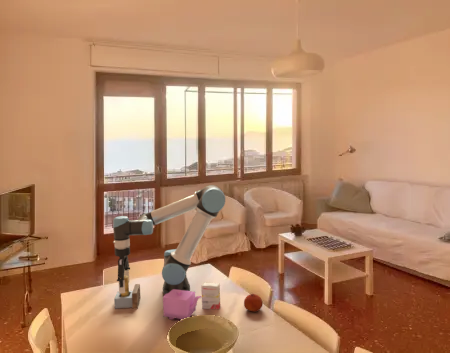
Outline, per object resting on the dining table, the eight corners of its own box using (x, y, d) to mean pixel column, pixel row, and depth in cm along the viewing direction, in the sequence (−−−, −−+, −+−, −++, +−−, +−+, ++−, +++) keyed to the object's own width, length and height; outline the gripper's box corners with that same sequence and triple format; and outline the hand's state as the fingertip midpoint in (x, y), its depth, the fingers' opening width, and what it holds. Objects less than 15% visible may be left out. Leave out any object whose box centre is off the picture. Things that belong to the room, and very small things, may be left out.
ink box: (220, 305, 187) (220, 282, 185) (218, 309, 182) (218, 286, 181) (204, 304, 188) (203, 281, 187) (201, 308, 183) (201, 285, 182)
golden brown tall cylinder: (122, 300, 192) (121, 276, 191) (129, 300, 193) (128, 275, 191) (120, 303, 188) (119, 279, 187) (128, 303, 189) (127, 278, 188)
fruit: (242, 313, 177) (241, 297, 177) (247, 305, 186) (247, 290, 185) (259, 316, 174) (259, 299, 174) (264, 307, 183) (264, 292, 182)
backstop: (140, 298, 197) (139, 283, 196) (137, 308, 185) (136, 293, 185) (135, 298, 197) (135, 284, 196) (132, 308, 185) (131, 293, 184)
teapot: (159, 318, 174) (157, 293, 173) (169, 309, 184) (168, 284, 182) (198, 324, 168) (197, 298, 166) (206, 314, 177) (205, 289, 176)
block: (135, 299, 196) (135, 290, 195) (133, 307, 187) (132, 297, 186) (118, 300, 195) (117, 291, 194) (114, 308, 186) (114, 298, 185)
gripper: (119, 240, 199) (121, 278, 202) (109, 255, 175) (112, 298, 177) (133, 240, 200) (135, 277, 202) (125, 254, 176) (128, 297, 178)
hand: (124, 287), depth 190 cm, fingers open, 13 cm apart
